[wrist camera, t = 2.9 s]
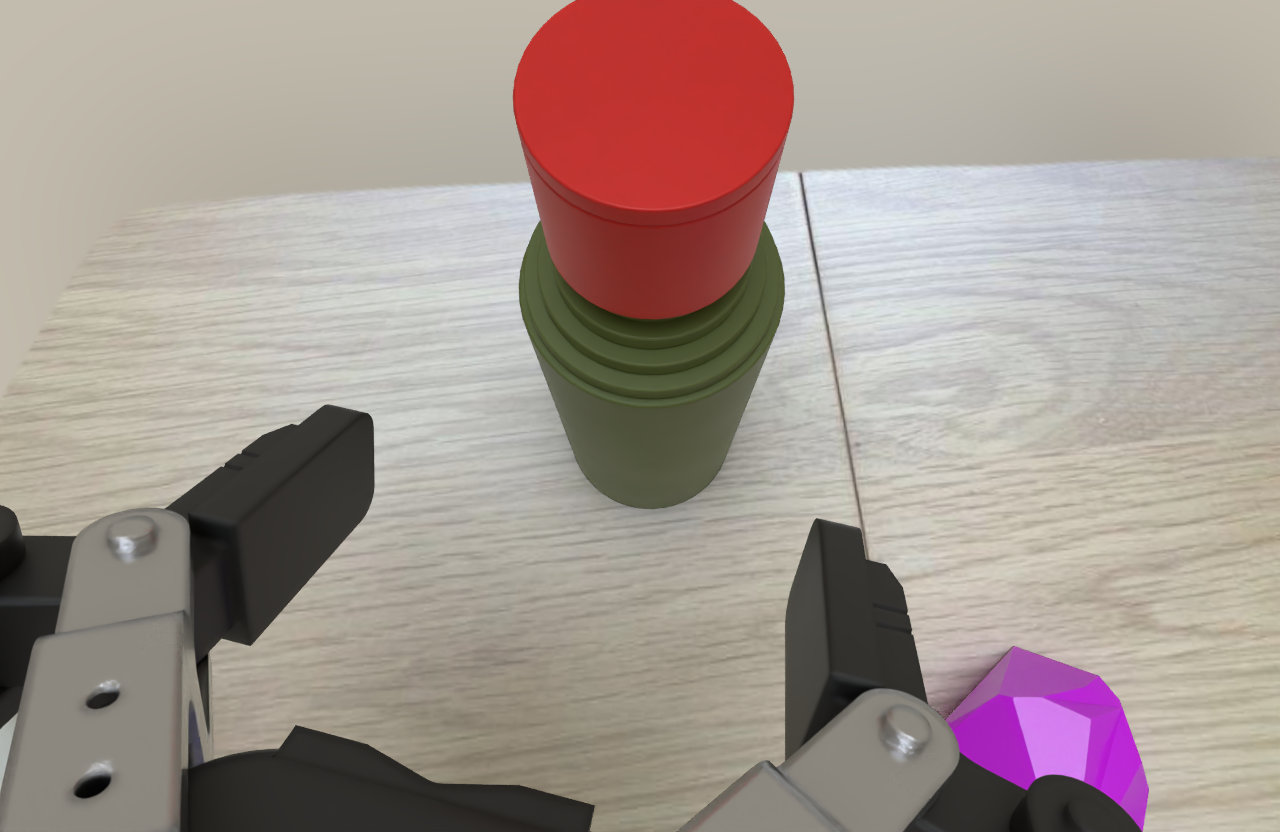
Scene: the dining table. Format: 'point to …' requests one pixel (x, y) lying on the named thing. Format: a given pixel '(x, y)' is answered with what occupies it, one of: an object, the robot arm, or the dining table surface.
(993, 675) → the crystal
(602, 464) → the bottle
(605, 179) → the bottle cap
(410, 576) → the dining table surface
